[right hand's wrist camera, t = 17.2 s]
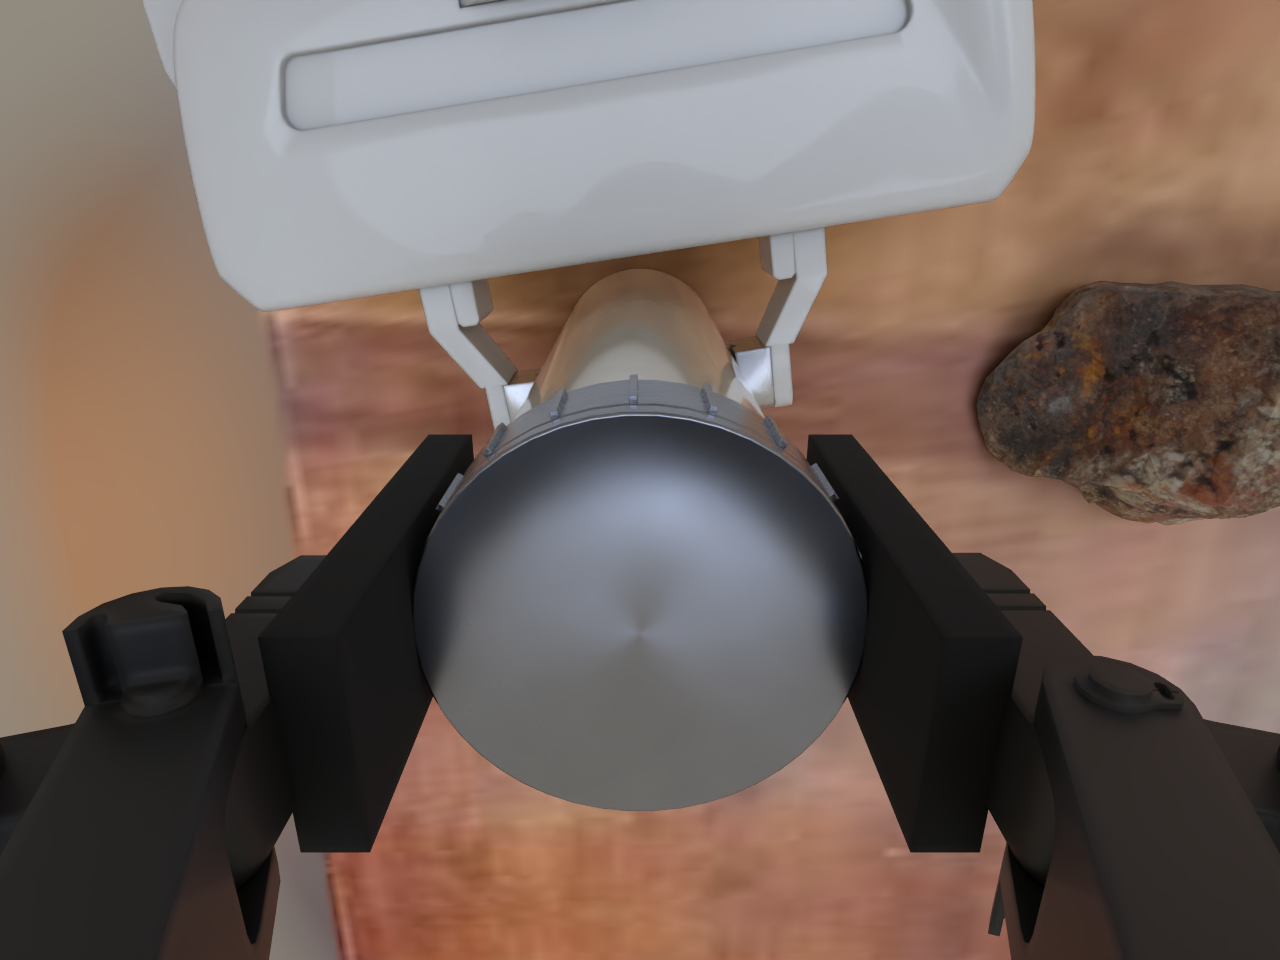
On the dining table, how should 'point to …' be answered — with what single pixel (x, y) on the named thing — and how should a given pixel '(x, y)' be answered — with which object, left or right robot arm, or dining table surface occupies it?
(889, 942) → the dining table surface
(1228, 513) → the rock
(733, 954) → the dining table surface
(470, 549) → the lid
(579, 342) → the beige cylindrical bottle
